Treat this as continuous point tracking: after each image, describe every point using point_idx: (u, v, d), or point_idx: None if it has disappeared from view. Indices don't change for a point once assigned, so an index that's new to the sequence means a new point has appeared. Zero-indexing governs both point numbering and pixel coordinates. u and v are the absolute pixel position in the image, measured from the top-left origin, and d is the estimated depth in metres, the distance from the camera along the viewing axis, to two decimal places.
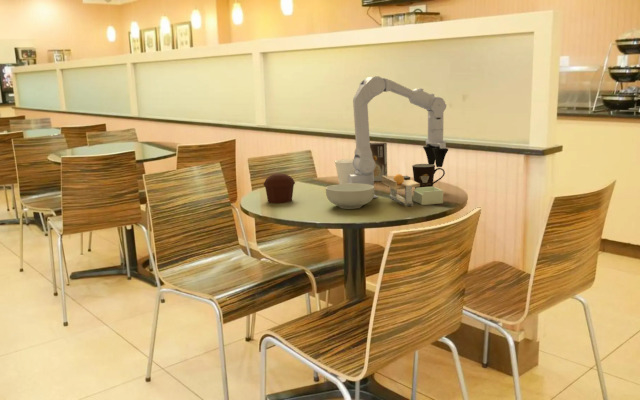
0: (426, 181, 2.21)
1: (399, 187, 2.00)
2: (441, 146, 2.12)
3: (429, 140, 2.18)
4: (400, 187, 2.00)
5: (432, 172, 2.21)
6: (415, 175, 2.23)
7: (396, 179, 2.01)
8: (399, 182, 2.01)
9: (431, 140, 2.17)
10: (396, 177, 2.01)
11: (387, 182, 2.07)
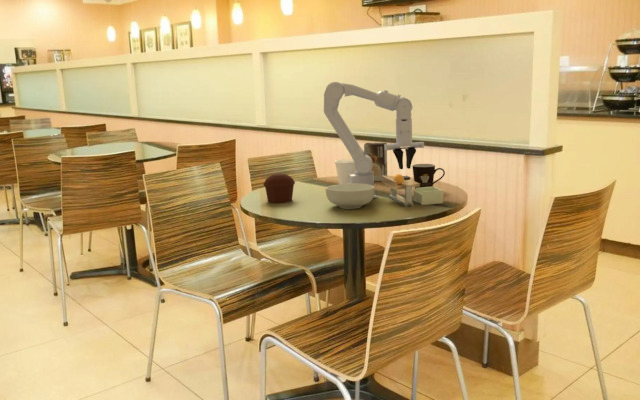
0: (426, 181, 2.21)
1: (399, 187, 2.00)
2: (384, 148, 2.12)
3: None
4: (400, 187, 2.00)
5: (432, 172, 2.21)
6: (415, 175, 2.23)
7: (396, 179, 2.01)
8: (399, 182, 2.01)
9: None
10: (396, 177, 2.01)
11: (387, 182, 2.07)
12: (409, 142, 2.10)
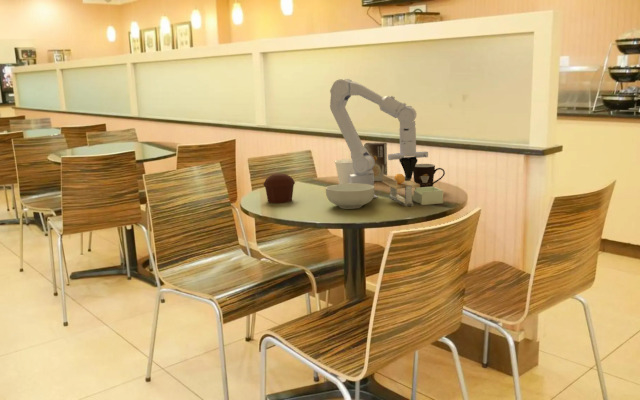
0: (426, 181, 2.21)
1: (399, 186, 2.00)
2: (388, 157, 2.09)
3: None
4: (400, 186, 2.00)
5: (432, 172, 2.21)
6: (415, 175, 2.23)
7: (397, 178, 2.01)
8: (400, 181, 2.01)
9: None
10: (397, 176, 2.01)
11: (387, 181, 2.07)
12: (413, 152, 2.07)
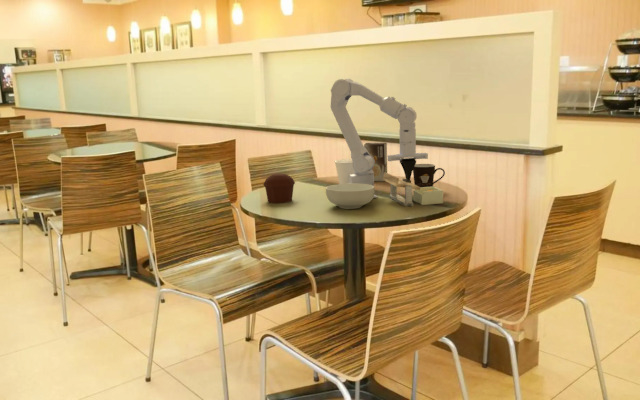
0: (426, 181, 2.21)
1: (400, 185, 1.99)
2: (388, 158, 2.09)
3: None
4: (401, 185, 2.00)
5: (432, 172, 2.21)
6: (415, 175, 2.23)
7: None
8: None
9: None
10: None
11: (388, 178, 2.07)
12: (413, 153, 2.07)
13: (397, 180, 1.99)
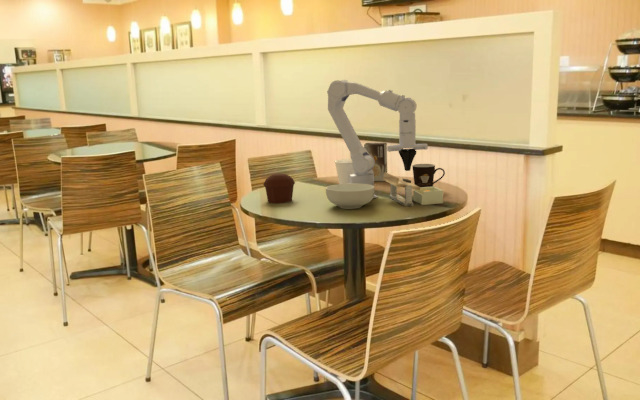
0: (426, 181, 2.21)
1: (400, 185, 1.99)
2: (387, 149, 2.08)
3: None
4: (401, 185, 2.00)
5: (432, 172, 2.21)
6: (415, 175, 2.23)
7: None
8: None
9: None
10: None
11: (388, 178, 2.07)
12: (412, 143, 2.06)
13: (397, 180, 1.99)
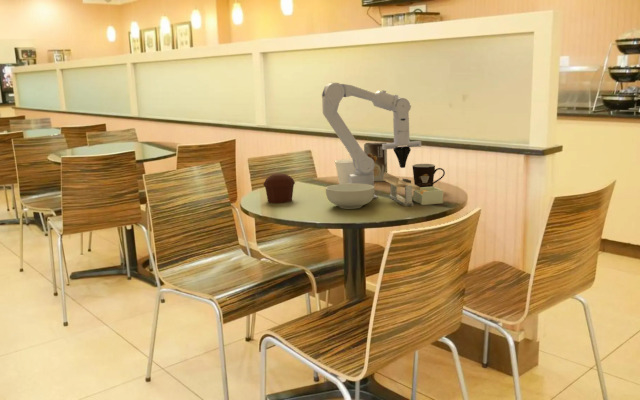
0: (426, 181, 2.21)
1: (400, 185, 1.99)
2: (382, 147, 2.15)
3: None
4: (401, 185, 2.00)
5: (432, 172, 2.21)
6: (415, 175, 2.23)
7: None
8: None
9: None
10: None
11: (388, 178, 2.07)
12: (406, 141, 2.13)
13: (397, 180, 1.99)
